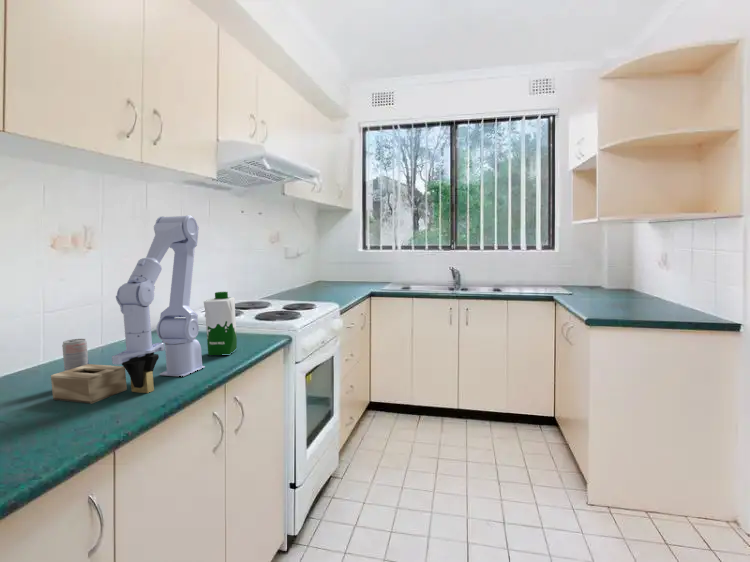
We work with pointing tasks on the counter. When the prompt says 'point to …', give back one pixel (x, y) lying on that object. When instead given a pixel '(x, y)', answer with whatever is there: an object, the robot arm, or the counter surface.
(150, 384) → the block
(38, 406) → the counter surface
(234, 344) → the milk carton
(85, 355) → the energy drink
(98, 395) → the box
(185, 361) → the robot arm
